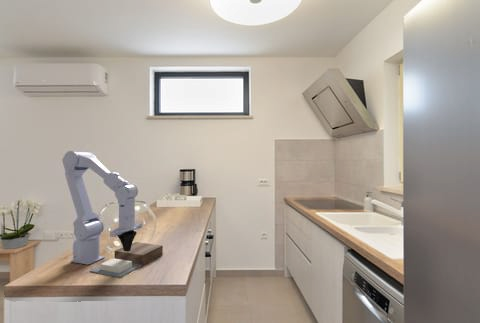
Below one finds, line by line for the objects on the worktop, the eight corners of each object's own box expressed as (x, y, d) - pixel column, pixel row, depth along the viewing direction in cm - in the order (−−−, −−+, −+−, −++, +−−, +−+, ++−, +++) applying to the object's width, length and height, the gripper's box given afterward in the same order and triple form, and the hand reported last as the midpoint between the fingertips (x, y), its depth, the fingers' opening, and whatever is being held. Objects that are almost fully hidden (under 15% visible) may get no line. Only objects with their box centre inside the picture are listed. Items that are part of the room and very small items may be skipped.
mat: (90, 271, 95) (90, 270, 95) (114, 261, 105) (114, 260, 105) (120, 277, 90) (120, 276, 90) (142, 265, 100) (142, 264, 100)
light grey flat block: (113, 258, 101) (113, 263, 101) (100, 264, 96) (100, 269, 96) (132, 261, 98) (132, 266, 98) (119, 267, 92) (119, 273, 92)
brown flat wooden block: (114, 260, 105) (114, 250, 105) (136, 251, 116) (136, 242, 116) (142, 265, 100) (142, 255, 100) (162, 255, 111) (162, 245, 111)
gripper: (120, 220, 94) (120, 258, 94) (148, 212, 107) (148, 246, 107) (105, 219, 96) (105, 256, 96) (134, 211, 110) (134, 244, 110)
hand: (127, 250), depth 102 cm, fingers closed
